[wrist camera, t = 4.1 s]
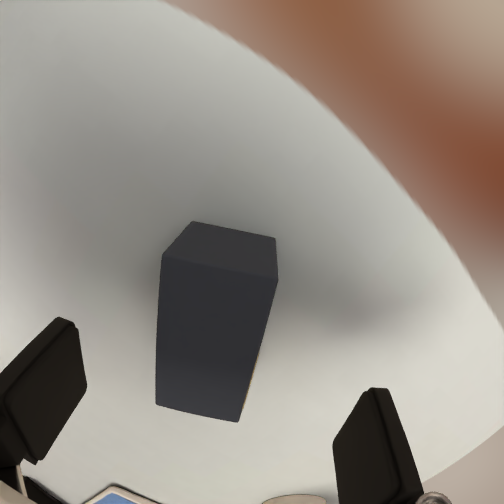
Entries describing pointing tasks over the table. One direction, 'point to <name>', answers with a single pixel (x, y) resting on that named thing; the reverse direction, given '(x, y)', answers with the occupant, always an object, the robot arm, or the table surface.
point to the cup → (296, 500)
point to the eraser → (212, 318)
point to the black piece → (38, 493)
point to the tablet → (118, 497)
